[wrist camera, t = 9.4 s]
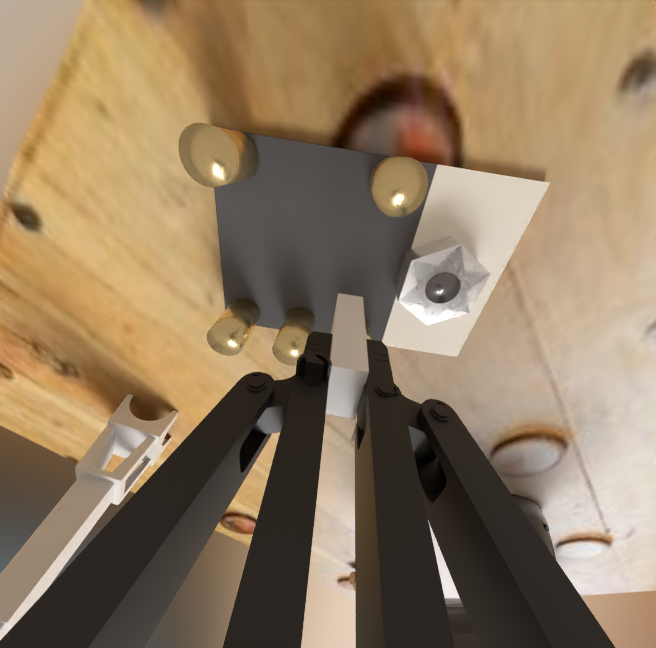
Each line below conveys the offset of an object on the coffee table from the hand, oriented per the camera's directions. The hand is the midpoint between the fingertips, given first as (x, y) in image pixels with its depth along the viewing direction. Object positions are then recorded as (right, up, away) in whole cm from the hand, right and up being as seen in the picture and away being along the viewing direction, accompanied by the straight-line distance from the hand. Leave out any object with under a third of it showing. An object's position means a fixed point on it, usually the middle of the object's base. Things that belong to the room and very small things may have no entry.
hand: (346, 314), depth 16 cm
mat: (+1, +5, +7) cm, 9 cm away
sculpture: (-27, -14, +22) cm, 38 cm away
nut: (+8, +4, +6) cm, 11 cm away
